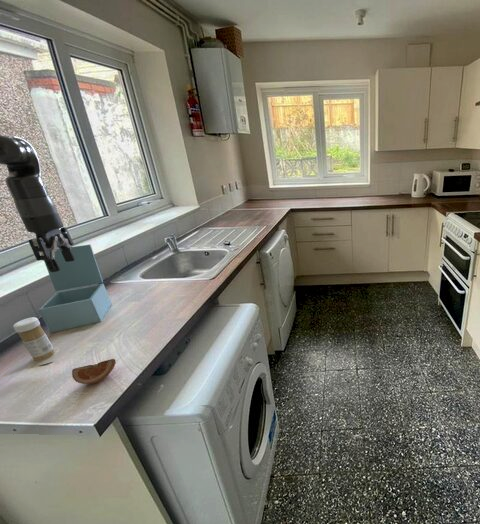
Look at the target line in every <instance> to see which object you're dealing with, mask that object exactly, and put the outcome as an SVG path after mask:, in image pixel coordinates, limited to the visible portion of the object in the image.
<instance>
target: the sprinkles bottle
mask: <svg viewBox="0 0 480 524" xmlns="http://www.w3.org/2000/svg"><path fill="white" fill-rule="evenodd" d="M12 327H13V329H14V331H15V332H16V333H17V334H18V336H19V338H20V340H21V341H22V343H23V345H24V346H25V348H26V350H27V351H28V353H29V355H30V356H31V357H32V359H33V361H34V362H41V361H45V360H47V359H49V358H51V357H53V356H54V355H55V353H56V351H55V349H54V346H53V345H52V343H51V341H50V340H49V338H48V336H47V334H46V332H45V331H44V330H43V327H42V326H41V322H40V320H39V319H38V318H37V317H35V316H33V317H27V318H23V319H21V320H18V321H17V322H15V323H14V324H13V326H12ZM52 363H53V361H51V362H46V363H43V364H39V365H38V367H44V366H47V365H50V364H52Z"/></svg>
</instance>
